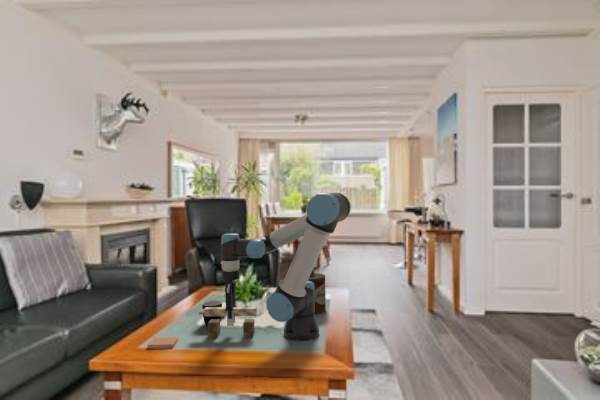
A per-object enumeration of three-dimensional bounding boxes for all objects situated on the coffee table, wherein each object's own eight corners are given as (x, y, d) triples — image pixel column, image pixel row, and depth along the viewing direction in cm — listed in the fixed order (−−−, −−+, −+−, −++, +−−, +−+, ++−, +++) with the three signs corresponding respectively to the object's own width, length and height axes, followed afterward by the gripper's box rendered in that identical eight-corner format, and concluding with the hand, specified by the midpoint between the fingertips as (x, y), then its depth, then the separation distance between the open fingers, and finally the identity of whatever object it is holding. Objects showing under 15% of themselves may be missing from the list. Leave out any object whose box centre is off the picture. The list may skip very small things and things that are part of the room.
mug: (224, 326, 185) (223, 304, 185) (204, 328, 182) (203, 306, 182) (219, 318, 196) (219, 298, 196) (200, 321, 193) (200, 300, 193)
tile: (178, 337, 168) (154, 337, 167) (173, 344, 160) (147, 344, 159) (178, 341, 168) (154, 342, 167) (173, 349, 160) (147, 349, 159)
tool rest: (254, 332, 176) (254, 318, 176) (252, 337, 170) (252, 323, 170) (211, 333, 176) (210, 319, 176) (207, 337, 170) (207, 323, 170)
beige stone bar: (257, 313, 175) (256, 306, 175) (255, 316, 170) (255, 309, 170) (202, 313, 176) (201, 306, 176) (199, 316, 171) (198, 309, 171)
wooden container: (322, 315, 199) (321, 271, 198) (293, 314, 203) (292, 270, 202) (328, 307, 213) (327, 266, 213) (301, 306, 217) (300, 265, 217)
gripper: (225, 266, 181) (226, 318, 181) (217, 273, 165) (218, 330, 165) (242, 266, 181) (242, 318, 181) (236, 273, 165) (236, 330, 165)
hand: (231, 324), depth 173 cm, fingers closed on beige stone bar, 3 cm apart
